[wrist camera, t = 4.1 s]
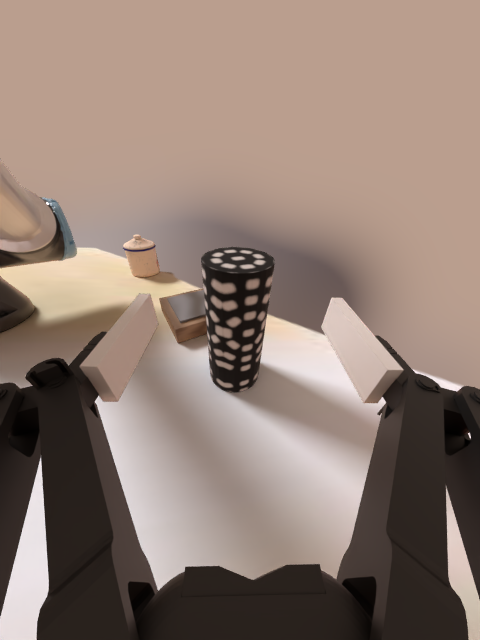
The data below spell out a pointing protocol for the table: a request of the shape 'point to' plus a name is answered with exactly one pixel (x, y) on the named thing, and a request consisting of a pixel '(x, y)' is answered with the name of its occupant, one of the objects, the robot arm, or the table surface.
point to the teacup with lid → (141, 257)
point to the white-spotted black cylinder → (236, 313)
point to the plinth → (185, 314)
